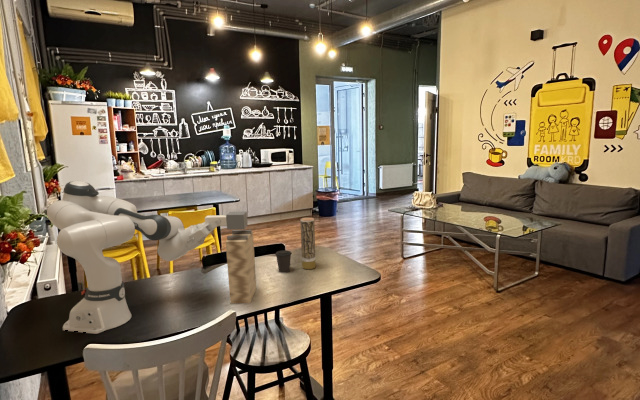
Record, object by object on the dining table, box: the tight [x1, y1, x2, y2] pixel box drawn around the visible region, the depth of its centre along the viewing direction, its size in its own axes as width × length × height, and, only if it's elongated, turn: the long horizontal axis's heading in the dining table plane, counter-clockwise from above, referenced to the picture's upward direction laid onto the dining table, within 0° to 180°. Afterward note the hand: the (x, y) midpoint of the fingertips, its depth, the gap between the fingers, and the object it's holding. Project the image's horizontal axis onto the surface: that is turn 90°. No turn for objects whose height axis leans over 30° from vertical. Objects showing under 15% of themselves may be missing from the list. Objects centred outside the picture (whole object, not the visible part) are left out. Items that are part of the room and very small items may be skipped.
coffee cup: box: [275, 249, 292, 274], centre depth 188 cm, size 8×8×10 cm
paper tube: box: [300, 217, 317, 270], centre depth 191 cm, size 7×7×25 cm
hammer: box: [204, 210, 248, 231], centre depth 156 cm, size 16×6×6 cm, turn 88°
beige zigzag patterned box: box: [225, 229, 257, 304], centre depth 160 cm, size 8×14×28 cm, turn 179°
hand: (221, 219), depth 156 cm, fingers closed on hammer, 4 cm apart
